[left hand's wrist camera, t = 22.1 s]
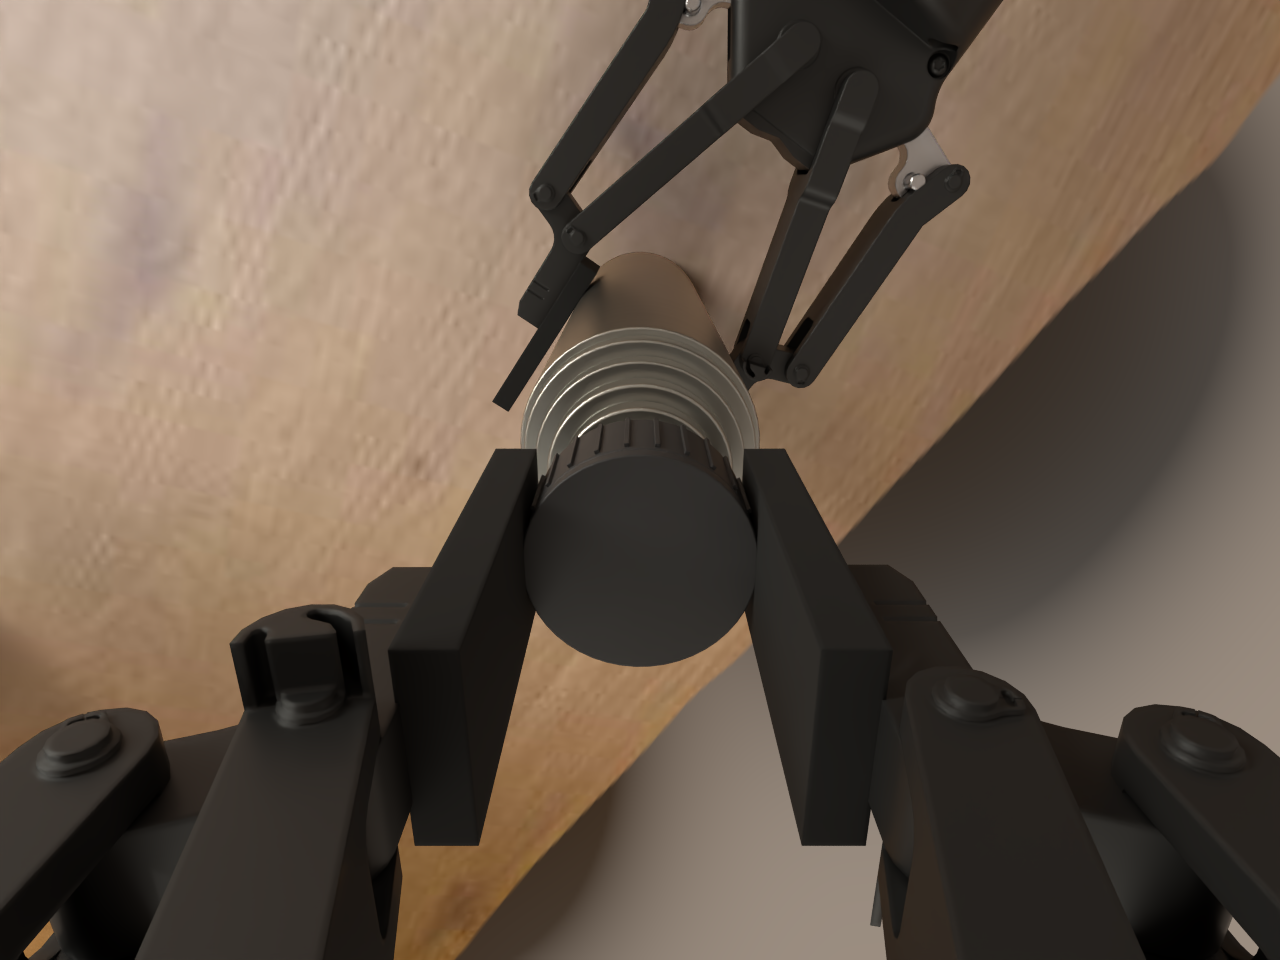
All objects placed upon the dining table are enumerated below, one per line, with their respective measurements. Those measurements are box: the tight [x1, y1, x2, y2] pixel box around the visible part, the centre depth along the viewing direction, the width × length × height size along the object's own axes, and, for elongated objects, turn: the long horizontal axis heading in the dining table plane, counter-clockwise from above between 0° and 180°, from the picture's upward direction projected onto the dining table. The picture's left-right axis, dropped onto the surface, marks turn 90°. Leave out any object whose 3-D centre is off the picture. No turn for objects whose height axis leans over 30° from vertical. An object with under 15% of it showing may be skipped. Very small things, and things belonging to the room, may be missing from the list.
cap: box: [523, 417, 757, 667], centre depth 14 cm, size 4×4×2 cm
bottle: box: [521, 252, 760, 483], centre depth 25 cm, size 6×6×25 cm
